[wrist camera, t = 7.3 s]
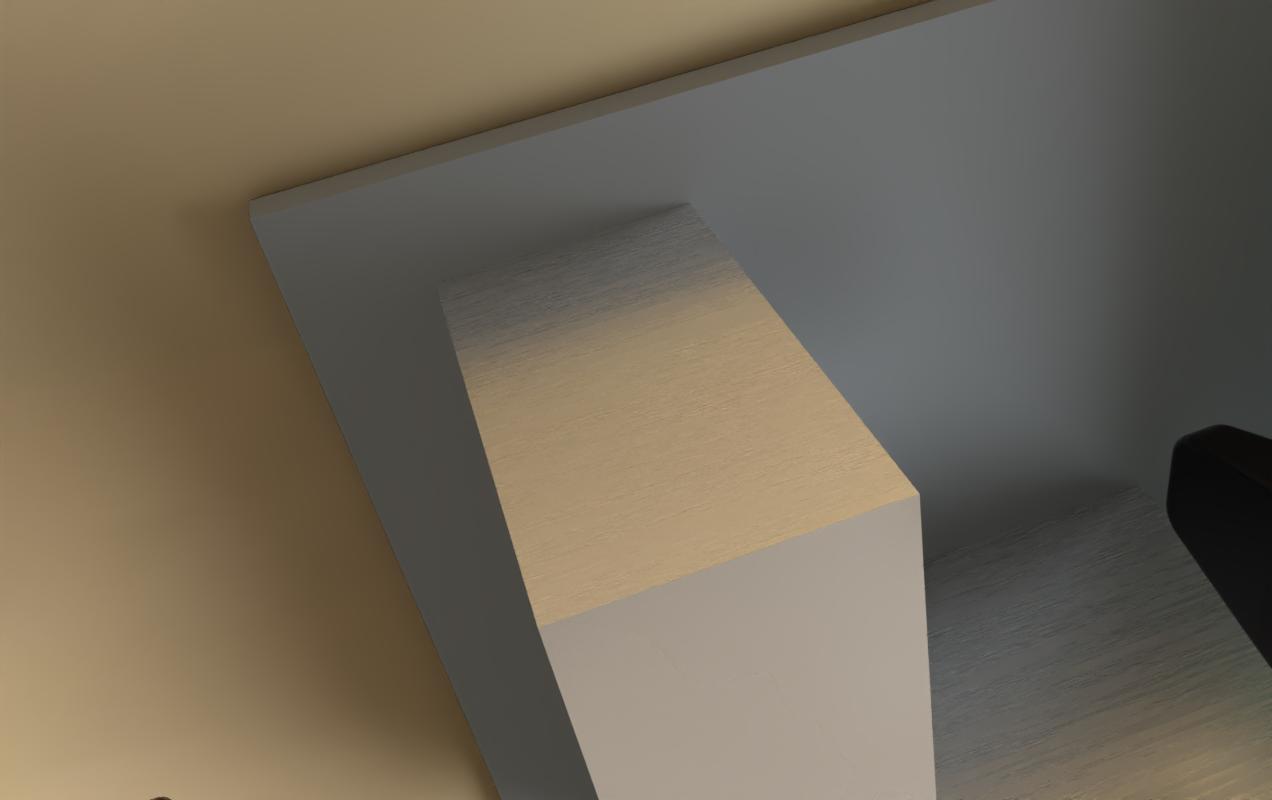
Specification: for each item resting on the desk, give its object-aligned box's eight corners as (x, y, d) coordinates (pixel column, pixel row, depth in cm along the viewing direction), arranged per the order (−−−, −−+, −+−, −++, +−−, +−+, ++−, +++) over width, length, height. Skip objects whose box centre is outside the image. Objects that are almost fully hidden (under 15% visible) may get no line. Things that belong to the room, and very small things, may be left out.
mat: (249, 200, 10) (248, 219, 9) (1360, -124, 11) (1393, -117, 11) (550, 901, 16) (556, 926, 16) (1220, 647, 18) (1238, 666, 17)
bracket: (434, 282, 10) (536, 627, 7) (1178, 50, 11) (1621, 246, 7) (614, 804, 15) (730, 1167, 11) (1124, 614, 16) (1379, 897, 12)
